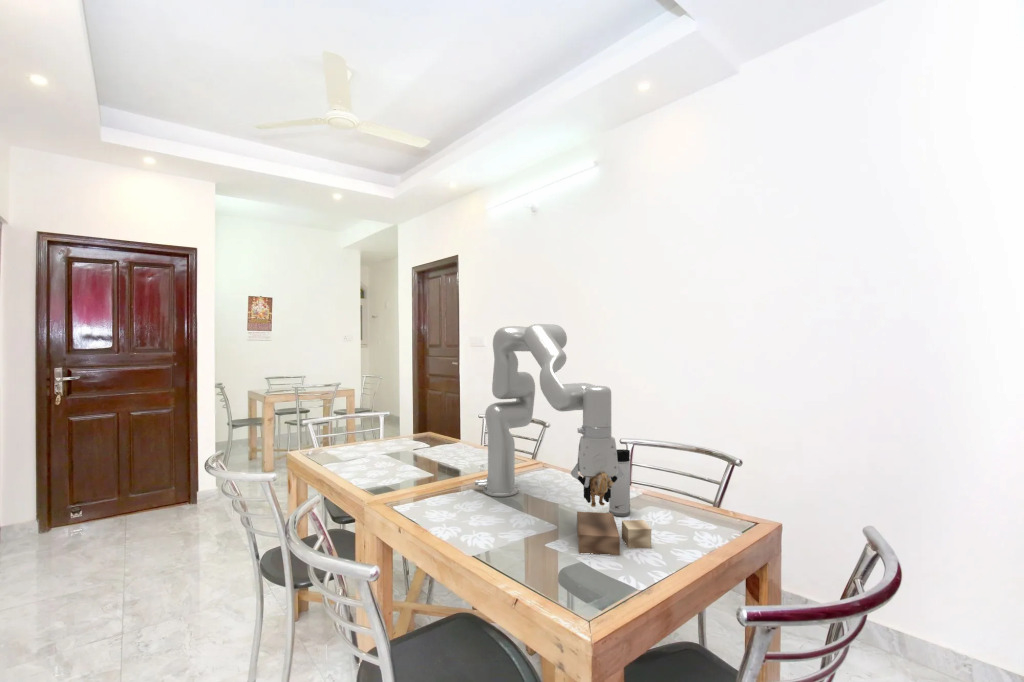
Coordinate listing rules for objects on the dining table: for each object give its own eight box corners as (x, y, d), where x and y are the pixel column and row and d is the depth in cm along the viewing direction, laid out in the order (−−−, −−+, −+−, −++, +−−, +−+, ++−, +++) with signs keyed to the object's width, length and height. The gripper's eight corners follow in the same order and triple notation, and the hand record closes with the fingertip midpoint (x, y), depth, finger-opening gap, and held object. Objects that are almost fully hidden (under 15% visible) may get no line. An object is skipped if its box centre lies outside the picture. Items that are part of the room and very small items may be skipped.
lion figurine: (616, 509, 117) (616, 474, 117) (597, 511, 115) (597, 476, 115) (592, 492, 131) (592, 460, 131) (574, 493, 130) (574, 461, 130)
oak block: (628, 548, 117) (628, 529, 117) (621, 538, 123) (621, 520, 123) (651, 548, 117) (651, 529, 117) (643, 538, 123) (643, 520, 123)
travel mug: (619, 518, 137) (619, 452, 137) (605, 511, 143) (605, 447, 143) (635, 515, 140) (635, 450, 140) (620, 508, 146) (620, 445, 146)
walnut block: (579, 554, 114) (579, 534, 114) (576, 529, 130) (577, 511, 130) (619, 556, 113) (619, 536, 113) (612, 530, 129) (612, 513, 129)
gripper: (568, 435, 118) (568, 506, 117) (632, 434, 119) (632, 505, 118) (563, 430, 125) (563, 496, 125) (623, 429, 126) (623, 495, 126)
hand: (597, 500), depth 122 cm, fingers closed on lion figurine, 4 cm apart
